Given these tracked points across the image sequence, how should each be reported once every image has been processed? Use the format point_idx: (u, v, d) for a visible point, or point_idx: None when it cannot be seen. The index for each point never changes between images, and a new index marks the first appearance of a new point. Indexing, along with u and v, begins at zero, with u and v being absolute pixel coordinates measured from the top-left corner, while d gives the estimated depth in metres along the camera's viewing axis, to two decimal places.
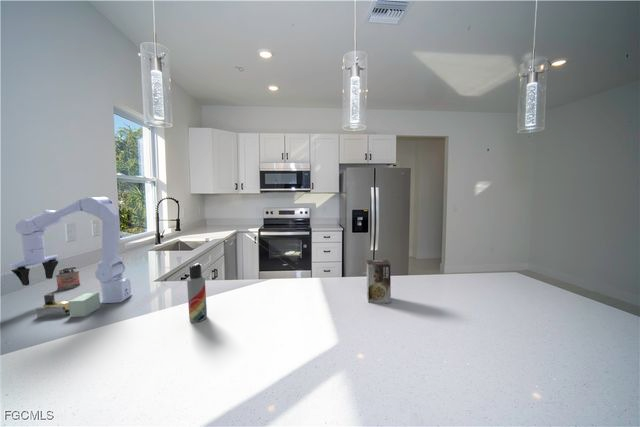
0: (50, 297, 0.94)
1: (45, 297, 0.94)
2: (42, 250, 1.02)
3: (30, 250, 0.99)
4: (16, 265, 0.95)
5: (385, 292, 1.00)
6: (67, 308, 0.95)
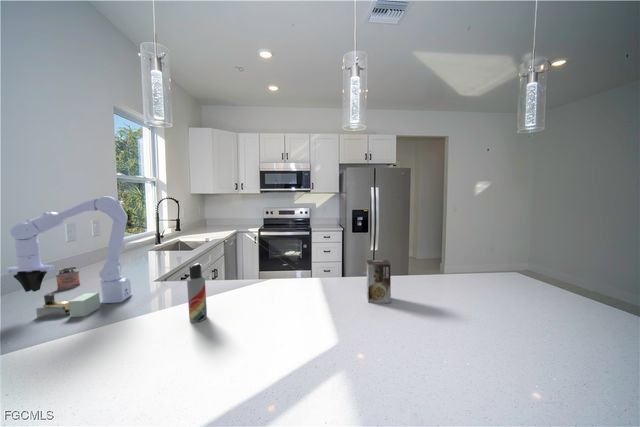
0: (50, 297, 0.94)
1: (45, 297, 0.94)
2: (23, 259, 0.91)
3: None
4: (7, 269, 0.92)
5: (385, 292, 1.00)
6: (67, 308, 0.95)
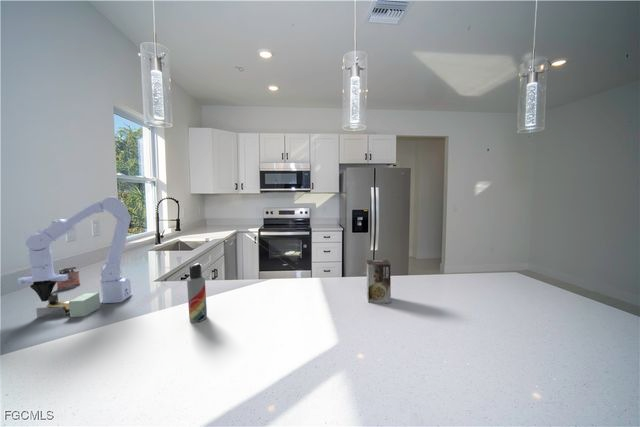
0: (54, 297, 0.94)
1: (49, 297, 0.94)
2: (38, 269, 0.91)
3: (30, 267, 0.92)
4: (20, 280, 0.92)
5: (385, 292, 1.00)
6: None
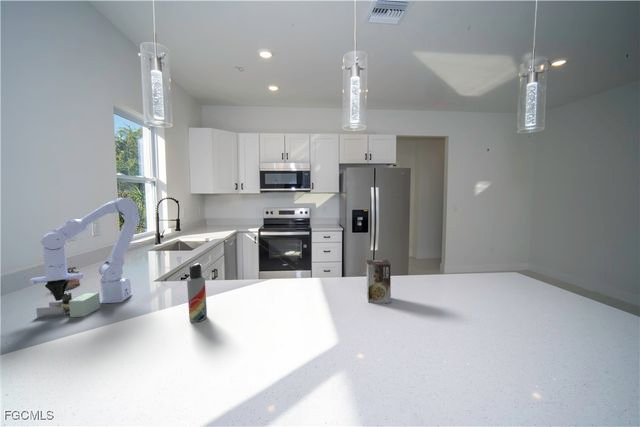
0: (68, 296, 0.95)
1: (63, 296, 0.94)
2: (54, 268, 0.92)
3: (45, 266, 0.92)
4: (32, 280, 0.92)
5: (385, 292, 1.00)
6: None
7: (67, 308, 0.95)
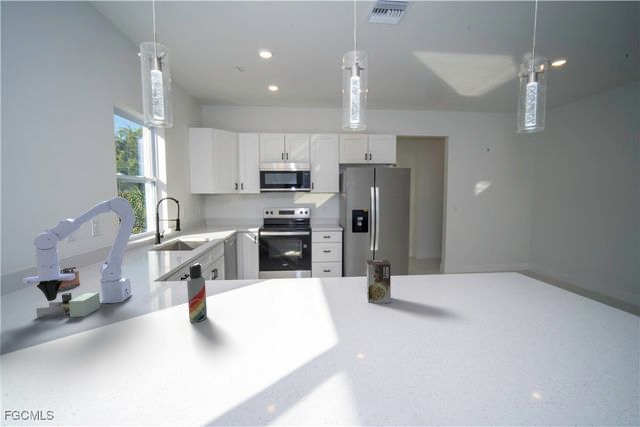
0: (68, 296, 0.95)
1: (63, 296, 0.94)
2: (45, 268, 0.92)
3: (37, 266, 0.92)
4: (25, 280, 0.92)
5: (385, 292, 1.00)
6: None
7: (67, 308, 0.95)
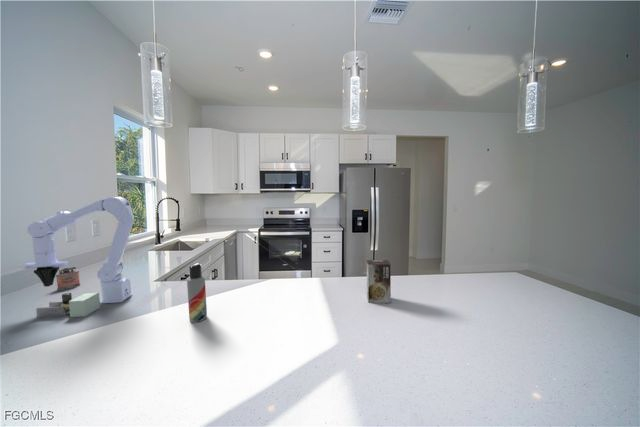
0: (68, 296, 0.95)
1: (63, 296, 0.94)
2: (40, 255, 0.96)
3: (34, 253, 0.96)
4: (25, 265, 0.97)
5: (385, 292, 1.00)
6: None
7: (67, 308, 0.95)
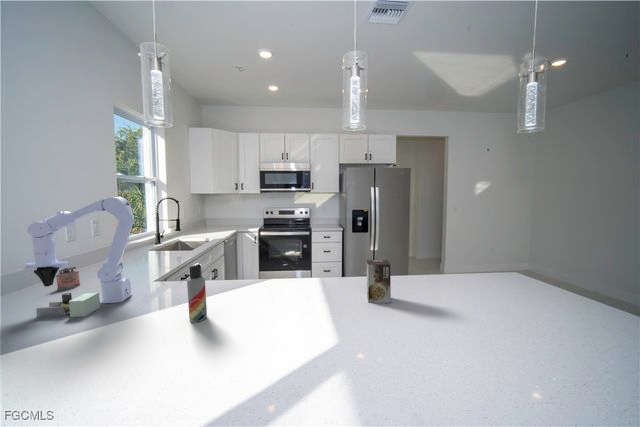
0: (68, 296, 0.95)
1: (63, 296, 0.94)
2: (40, 255, 0.96)
3: (34, 253, 0.96)
4: (25, 265, 0.97)
5: (385, 292, 1.00)
6: None
7: (67, 308, 0.95)
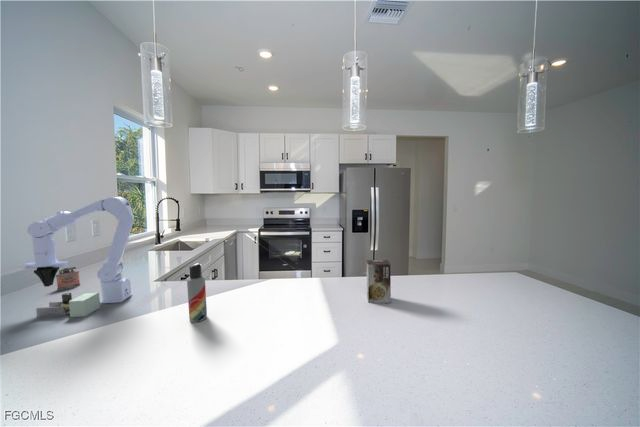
0: (68, 296, 0.95)
1: (63, 296, 0.94)
2: (40, 255, 0.96)
3: (34, 253, 0.96)
4: (25, 265, 0.97)
5: (385, 292, 1.00)
6: None
7: (67, 308, 0.95)
